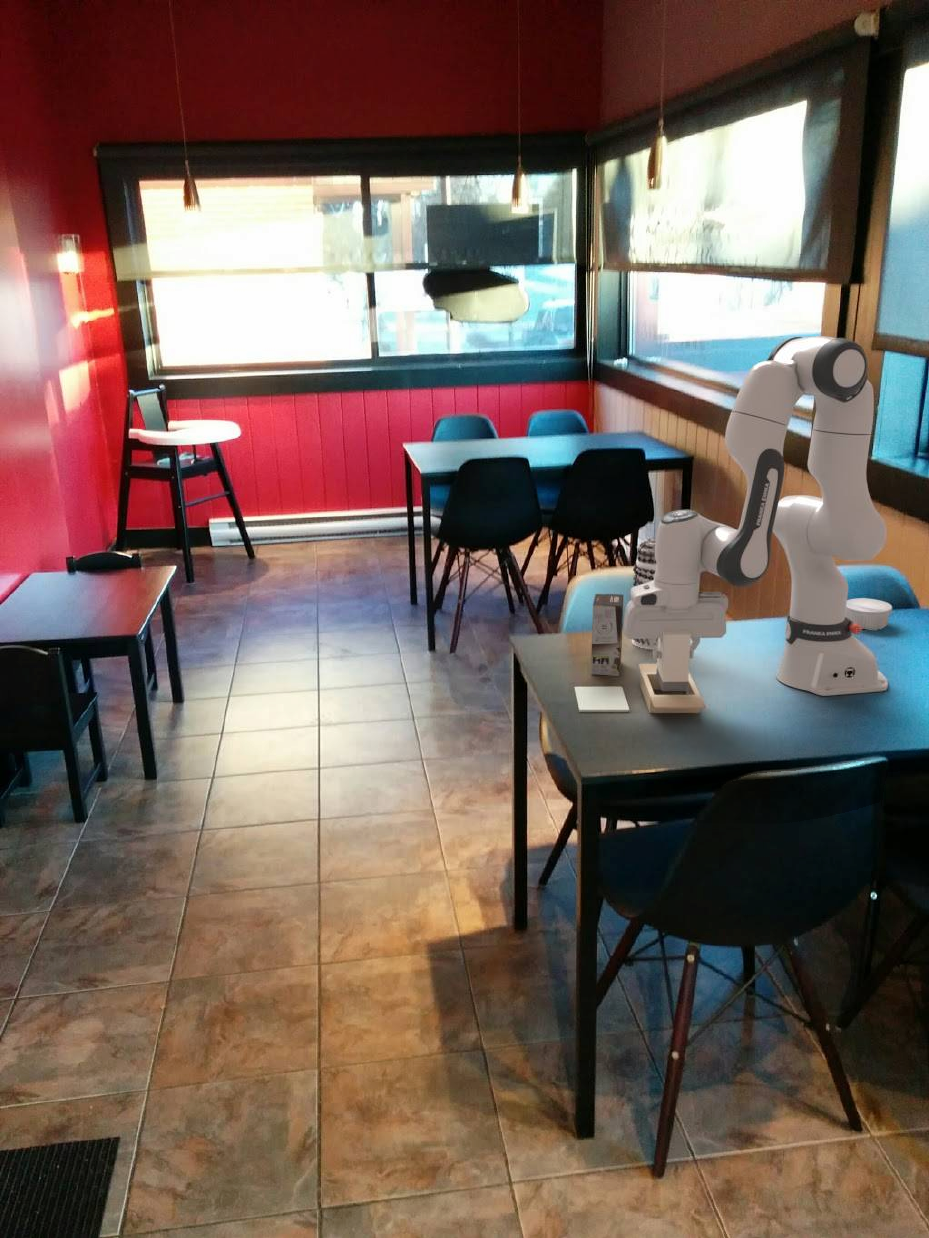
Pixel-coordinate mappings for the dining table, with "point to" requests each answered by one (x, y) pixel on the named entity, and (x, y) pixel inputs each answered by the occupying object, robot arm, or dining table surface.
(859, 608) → the ramekin
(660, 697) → the beige hollow rectangular block
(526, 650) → the dining table surface
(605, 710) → the white rectangular plate
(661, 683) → the cream box
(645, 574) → the decorative candle
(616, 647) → the coffee box
